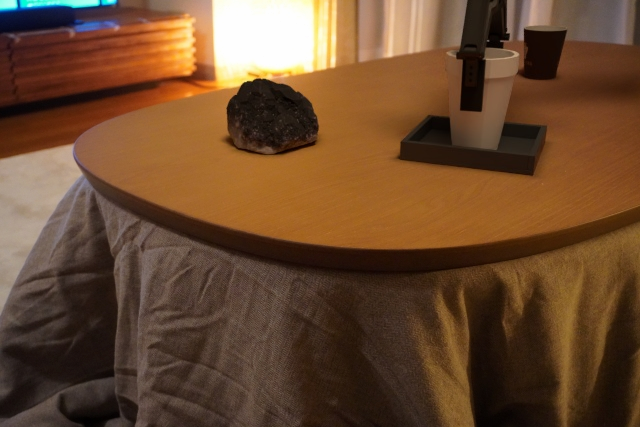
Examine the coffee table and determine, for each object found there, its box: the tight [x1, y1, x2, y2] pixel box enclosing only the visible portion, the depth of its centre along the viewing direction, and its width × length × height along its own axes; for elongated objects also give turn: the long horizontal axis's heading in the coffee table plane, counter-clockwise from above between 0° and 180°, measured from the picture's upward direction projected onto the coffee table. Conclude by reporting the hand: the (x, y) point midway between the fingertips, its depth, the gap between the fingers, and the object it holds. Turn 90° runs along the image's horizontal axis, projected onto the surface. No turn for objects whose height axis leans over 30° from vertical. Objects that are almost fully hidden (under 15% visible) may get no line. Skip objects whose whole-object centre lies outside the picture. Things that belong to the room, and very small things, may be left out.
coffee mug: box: [523, 24, 568, 81], centre depth 131 cm, size 12×9×10 cm
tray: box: [399, 114, 548, 176], centre depth 88 cm, size 18×15×3 cm
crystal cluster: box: [225, 77, 320, 155], centre depth 93 cm, size 13×14×10 cm
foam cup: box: [444, 48, 521, 150], centre depth 85 cm, size 10×9×13 cm
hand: (481, 98), depth 85 cm, fingers open, 13 cm apart
